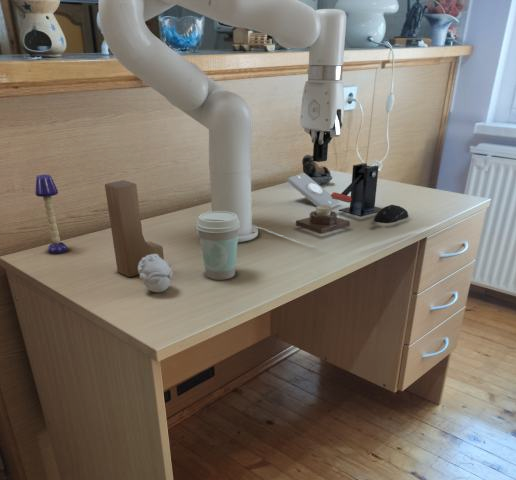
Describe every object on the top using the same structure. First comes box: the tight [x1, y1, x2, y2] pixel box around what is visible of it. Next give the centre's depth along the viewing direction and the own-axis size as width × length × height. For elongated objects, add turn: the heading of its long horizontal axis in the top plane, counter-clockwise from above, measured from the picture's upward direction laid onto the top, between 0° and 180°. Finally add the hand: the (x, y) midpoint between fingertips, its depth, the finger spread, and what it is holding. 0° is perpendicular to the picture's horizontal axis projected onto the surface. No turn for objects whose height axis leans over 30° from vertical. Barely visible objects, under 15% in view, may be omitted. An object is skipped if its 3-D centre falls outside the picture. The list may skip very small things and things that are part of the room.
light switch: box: [286, 172, 341, 207], centre depth 153 cm, size 8×6×14 cm
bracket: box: [338, 162, 383, 218], centre depth 142 cm, size 10×8×13 cm
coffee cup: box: [195, 211, 240, 281], centre depth 105 cm, size 8×9×12 cm
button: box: [315, 205, 332, 216], centre depth 131 cm, size 4×4×2 cm
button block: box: [295, 210, 351, 235], centre depth 133 cm, size 10×9×4 cm
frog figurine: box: [138, 254, 174, 293], centre depth 100 cm, size 6×7×7 cm
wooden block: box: [104, 179, 165, 278], centre depth 107 cm, size 9×4×18 cm, turn 135°
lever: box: [330, 164, 371, 204], centre depth 139 cm, size 12×6×2 cm, turn 130°
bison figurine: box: [301, 154, 333, 186], centre depth 172 cm, size 12×7×10 cm, turn 130°
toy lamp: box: [34, 174, 69, 255], centre depth 118 cm, size 5×5×17 cm
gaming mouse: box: [373, 204, 409, 224], centre depth 138 cm, size 6×15×4 cm, turn 138°
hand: (319, 160), depth 127 cm, fingers closed
